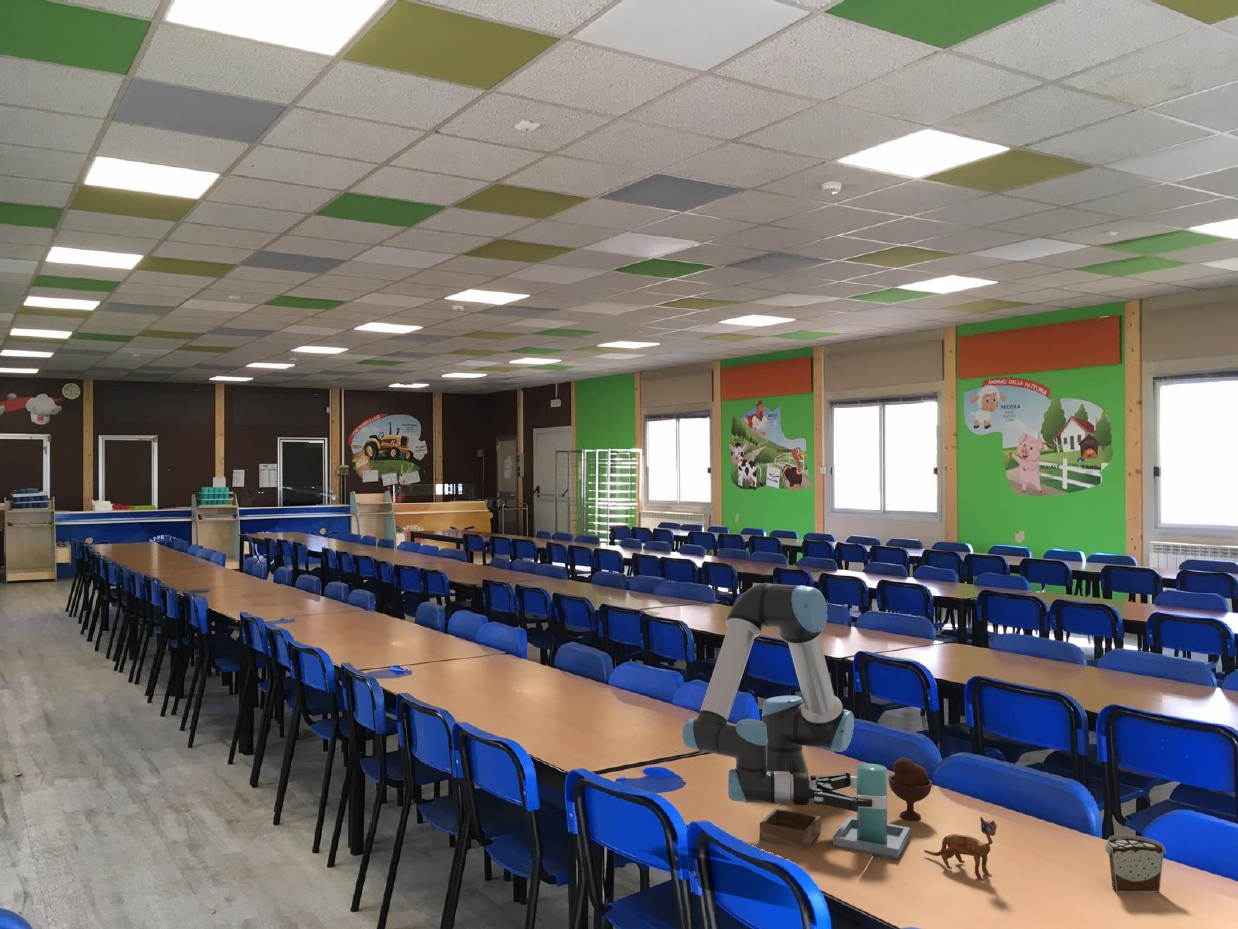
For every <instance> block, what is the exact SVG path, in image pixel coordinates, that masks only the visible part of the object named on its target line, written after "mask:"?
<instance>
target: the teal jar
mask: <svg viewBox="0 0 1238 929" xmlns="http://www.w3.org/2000/svg"><path fill="white" fill-rule="evenodd" d="M856 777H857V789H856V796H857V795H869V796H886V797H887V798H888V768H887V767H886V766H885V765H882V764H876V763H861V764H858V765H857V766H856ZM856 818H857V839H858V840H861V841H867V842H872V843H877V844H885V843H887V824H888V808H887V809H873V808H858V812H856Z"/></svg>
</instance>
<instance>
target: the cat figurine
mask: <svg viewBox="0 0 1238 929" xmlns="http://www.w3.org/2000/svg"><path fill="white" fill-rule="evenodd" d="M979 818H980V828H981V829H980V830H981V832H982V833H983V834H984V835H986V839H987V841H988V842H985V843H984V842H981V841H980V840H978V838H975V837H973V836H970V835H966V834H965V835H964V834H959V833H952V834H948V835H946V836H944V837H943V838H942V842H941V843H942V844H941V848H940V850H939V851H937V852H936V851H935V852H934V851H932V850H931V851H930V850H927V849H925V850H923V852H924V853H926V854H928V855H930V856H933V857H940V856H941V860H942V861H943V863H944V864H945V866H946V868H947V869H950V870H952V869H953V868H952V866H950V865H949V861H948V860H949V859H951V858H953V857H954V856H955V858H956V859H957V861H958V863H960V864H965V860H963V859H962V855H964V856H972V857H973V859H974V874H975V875H974V876H975V877H976V878H977V879H978V880H980V881H985V878H983V877H982V876H981V873H980V865H981V871H982V873H983V875H984V876H987V877H992V874H991V873H989V871H988V868H987V863H988V854H989V853H990V852H991V845H992V844H993V843H994V842H993V839H992V837H993V836H995V835H996V831H997V829H998V827H997V826H998V825H997V824H996V823H995V820H992V821H990V820H984V818H983V817H982V816H980V817H979ZM991 836H992V837H991Z"/></svg>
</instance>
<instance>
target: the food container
mask: <svg viewBox="0 0 1238 929" xmlns="http://www.w3.org/2000/svg"><path fill="white" fill-rule="evenodd" d="M1164 845H1165V844H1163V843H1161V842H1159V841H1157V840H1154V839H1151V838H1148V837H1144V836H1139V835H1133V834H1132V835H1131V834H1115V835H1111V836H1109V837H1108V839H1107V840H1106V843H1105V847H1104V850H1105V852H1106V853H1107V855H1108V857H1109V868H1110V875H1111V886H1112V887H1113V888H1112V890H1113V891H1114V892H1115V893H1117V894H1118V892H1119V893H1120V894H1121V892H1122V893H1124V892H1129V893H1158V892H1157V891H1160V890H1161V882H1162V870H1163V862H1164V861H1163V860H1164V855H1167V850H1166V847H1165V846H1164ZM1155 891H1156V892H1155ZM1160 892H1161V891H1160Z"/></svg>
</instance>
